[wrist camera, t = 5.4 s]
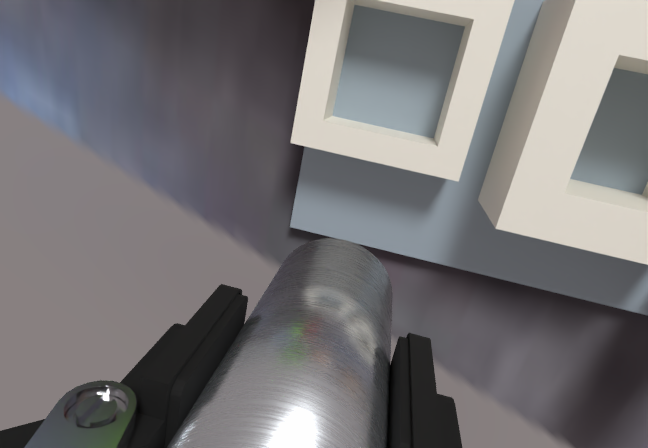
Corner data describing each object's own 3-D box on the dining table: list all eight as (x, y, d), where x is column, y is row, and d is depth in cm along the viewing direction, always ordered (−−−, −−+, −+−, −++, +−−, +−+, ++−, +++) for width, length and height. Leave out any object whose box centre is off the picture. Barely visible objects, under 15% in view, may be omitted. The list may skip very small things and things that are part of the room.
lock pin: (405, 254, 14) (417, 582, 5) (376, 357, 16) (343, 765, 6) (286, 225, 15) (90, 481, 5) (267, 328, 16) (84, 676, 7)
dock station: (876, 44, 21) (1054, 32, 15) (714, 325, 26) (802, 395, 20) (341, -56, 23) (321, -99, 17) (290, 221, 28) (262, 257, 22)
